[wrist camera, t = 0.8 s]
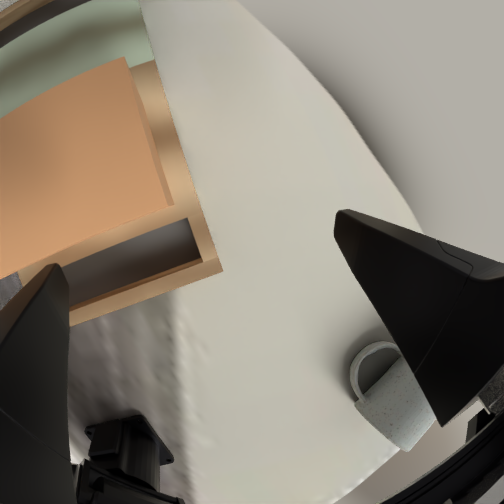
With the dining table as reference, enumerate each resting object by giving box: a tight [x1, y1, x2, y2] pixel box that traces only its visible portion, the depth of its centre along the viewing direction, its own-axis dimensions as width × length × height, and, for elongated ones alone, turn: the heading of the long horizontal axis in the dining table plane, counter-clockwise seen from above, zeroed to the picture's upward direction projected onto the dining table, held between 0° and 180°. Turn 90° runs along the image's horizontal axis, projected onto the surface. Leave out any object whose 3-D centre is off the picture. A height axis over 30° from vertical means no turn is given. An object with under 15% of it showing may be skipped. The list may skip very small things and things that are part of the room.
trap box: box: [0, 0, 223, 327], centre depth 17 cm, size 28×14×2 cm, turn 18°
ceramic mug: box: [350, 341, 436, 452], centre depth 23 cm, size 11×8×8 cm
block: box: [0, 56, 174, 279], centre depth 13 cm, size 7×11×7 cm, turn 108°
